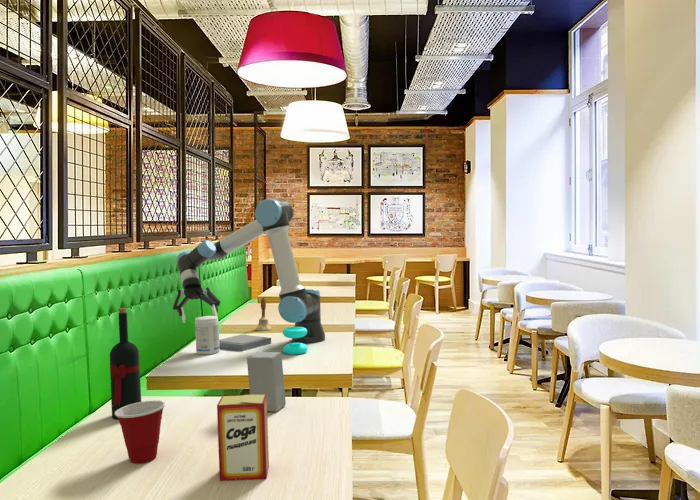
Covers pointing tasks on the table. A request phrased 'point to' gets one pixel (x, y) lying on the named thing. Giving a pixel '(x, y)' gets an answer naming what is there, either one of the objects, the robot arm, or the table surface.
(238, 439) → the baking soda box
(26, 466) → the table surface
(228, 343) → the slate board
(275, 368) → the skincare box
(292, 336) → the donuts
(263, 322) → the hand bell
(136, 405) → the plastic cup
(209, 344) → the supplement tub
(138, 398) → the wine bottle
